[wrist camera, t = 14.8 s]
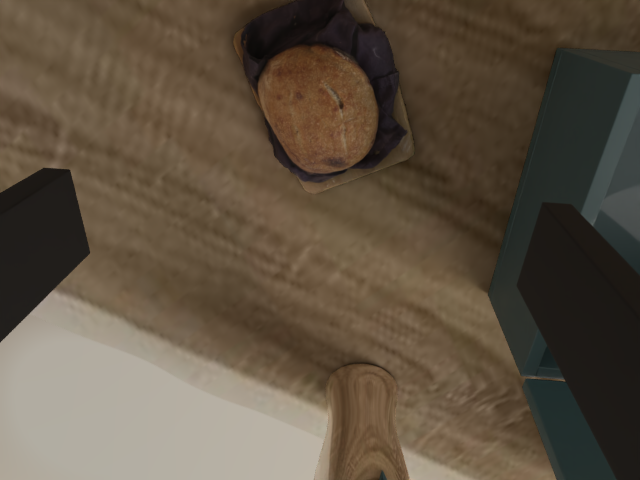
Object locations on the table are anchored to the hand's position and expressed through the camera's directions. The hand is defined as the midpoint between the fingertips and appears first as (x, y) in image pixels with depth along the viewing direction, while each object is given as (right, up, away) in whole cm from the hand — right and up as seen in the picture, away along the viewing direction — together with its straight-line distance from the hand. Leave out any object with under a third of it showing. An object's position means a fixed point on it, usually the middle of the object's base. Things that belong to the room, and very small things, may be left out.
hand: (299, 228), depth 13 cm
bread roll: (+1, +8, +14) cm, 16 cm away
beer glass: (+4, -13, +26) cm, 29 cm away
